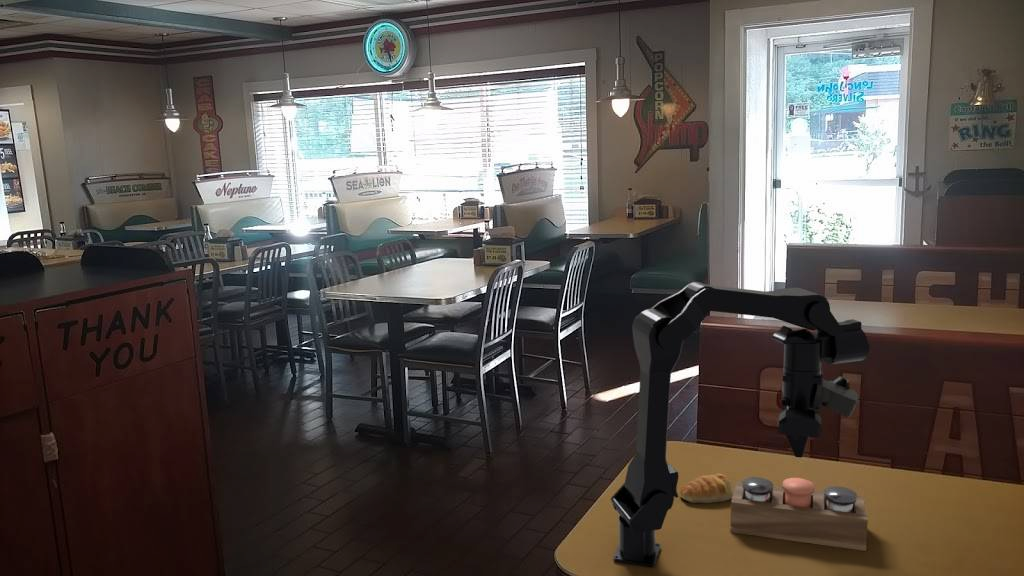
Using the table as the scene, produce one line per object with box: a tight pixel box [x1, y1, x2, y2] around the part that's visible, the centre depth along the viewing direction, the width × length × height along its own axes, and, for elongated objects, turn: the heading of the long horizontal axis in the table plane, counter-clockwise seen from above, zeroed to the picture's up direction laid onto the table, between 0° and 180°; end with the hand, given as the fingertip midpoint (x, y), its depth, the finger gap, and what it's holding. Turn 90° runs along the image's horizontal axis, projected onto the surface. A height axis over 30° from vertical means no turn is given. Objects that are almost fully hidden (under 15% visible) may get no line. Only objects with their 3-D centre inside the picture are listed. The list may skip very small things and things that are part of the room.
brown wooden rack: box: [729, 481, 868, 552], centre depth 134 cm, size 9×21×5 cm, turn 70°
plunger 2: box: [823, 485, 858, 513], centre depth 131 cm, size 5×5×6 cm
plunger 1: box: [742, 476, 774, 503], centre depth 136 cm, size 5×5×6 cm
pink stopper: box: [782, 477, 815, 508], centre depth 133 cm, size 5×5×6 cm
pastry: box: [679, 472, 734, 504], centre depth 147 cm, size 9×7×4 cm
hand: (798, 456), depth 132 cm, fingers closed
